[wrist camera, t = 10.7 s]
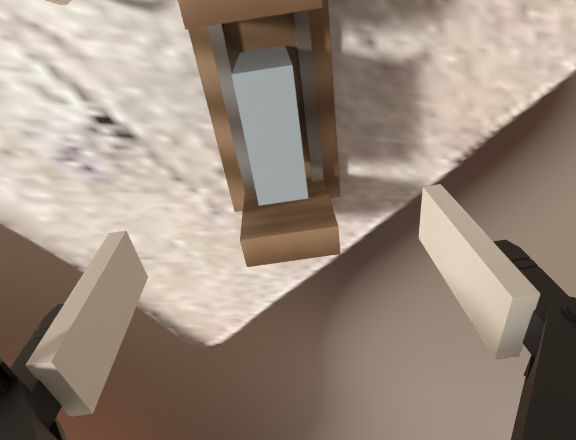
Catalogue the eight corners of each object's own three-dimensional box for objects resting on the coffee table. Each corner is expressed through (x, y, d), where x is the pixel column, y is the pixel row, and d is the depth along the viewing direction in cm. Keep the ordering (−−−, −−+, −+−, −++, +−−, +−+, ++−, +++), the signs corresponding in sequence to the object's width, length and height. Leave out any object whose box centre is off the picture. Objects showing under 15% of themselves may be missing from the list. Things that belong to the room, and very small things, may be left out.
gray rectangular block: (240, 52, 32) (231, 74, 23) (284, 45, 32) (292, 65, 23) (260, 157, 37) (258, 205, 29) (298, 151, 37) (308, 198, 29)
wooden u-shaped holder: (178, -20, 29) (138, -26, 20) (322, -44, 29) (350, -60, 20) (235, 207, 41) (227, 269, 32) (338, 192, 41) (360, 250, 32)
